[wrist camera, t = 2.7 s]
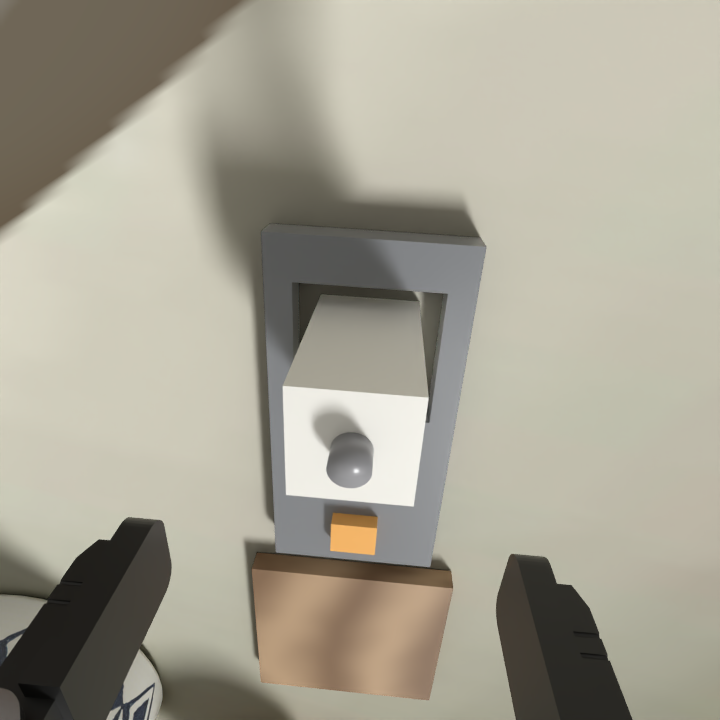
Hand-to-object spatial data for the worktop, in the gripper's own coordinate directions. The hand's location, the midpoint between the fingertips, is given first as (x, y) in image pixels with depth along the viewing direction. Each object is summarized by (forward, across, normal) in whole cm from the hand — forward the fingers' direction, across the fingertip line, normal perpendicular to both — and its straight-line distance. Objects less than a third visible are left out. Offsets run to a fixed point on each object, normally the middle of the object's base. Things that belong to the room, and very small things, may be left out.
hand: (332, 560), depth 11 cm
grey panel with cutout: (+12, 0, +4) cm, 13 cm away
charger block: (+13, 0, 0) cm, 13 cm away
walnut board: (+12, 0, +22) cm, 25 cm away
